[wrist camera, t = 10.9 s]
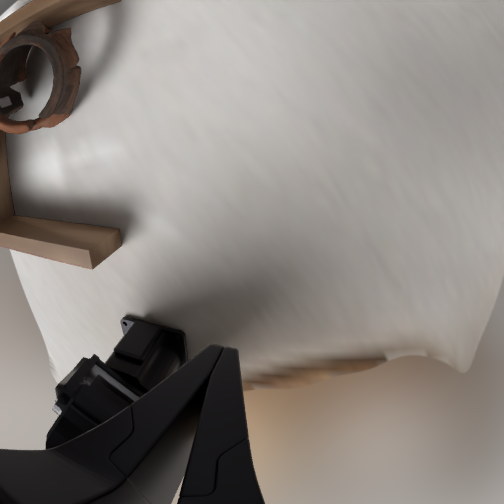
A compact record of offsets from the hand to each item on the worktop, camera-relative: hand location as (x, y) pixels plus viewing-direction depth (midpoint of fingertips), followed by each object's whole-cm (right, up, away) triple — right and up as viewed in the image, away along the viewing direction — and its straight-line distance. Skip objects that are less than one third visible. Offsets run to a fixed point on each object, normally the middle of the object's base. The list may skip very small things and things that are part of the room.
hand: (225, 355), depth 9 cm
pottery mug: (-16, +18, +9) cm, 26 cm away
